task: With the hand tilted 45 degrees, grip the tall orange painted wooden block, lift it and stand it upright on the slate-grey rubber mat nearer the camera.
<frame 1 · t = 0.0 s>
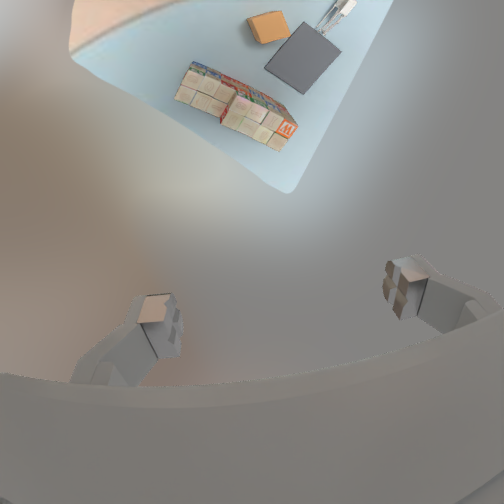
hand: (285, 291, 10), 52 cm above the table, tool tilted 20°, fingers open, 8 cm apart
orange block: (263, 25, 40), on the table
stack of blocks: (233, 93, 51), on the table
slate mat: (303, 58, 46), on the table
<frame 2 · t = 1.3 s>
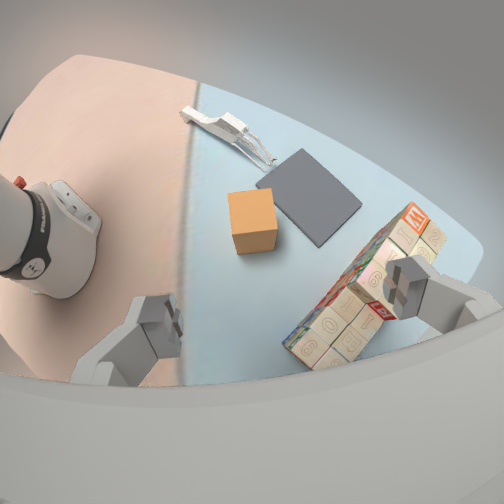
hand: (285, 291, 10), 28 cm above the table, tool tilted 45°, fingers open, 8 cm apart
orange block: (253, 235, 40), on the table
stack of blocks: (348, 300, 38), on the table
slate mat: (309, 195, 41), on the table
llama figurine: (225, 143, 45), on the table
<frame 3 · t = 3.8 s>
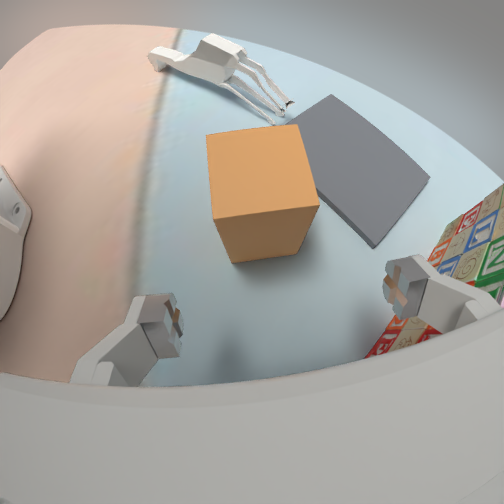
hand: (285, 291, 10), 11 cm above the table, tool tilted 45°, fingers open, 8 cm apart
orange block: (259, 227, 22), on the table
stack of blocks: (416, 336, 20), on the table
slate mat: (351, 161, 24), on the table
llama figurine: (212, 91, 27), on the table
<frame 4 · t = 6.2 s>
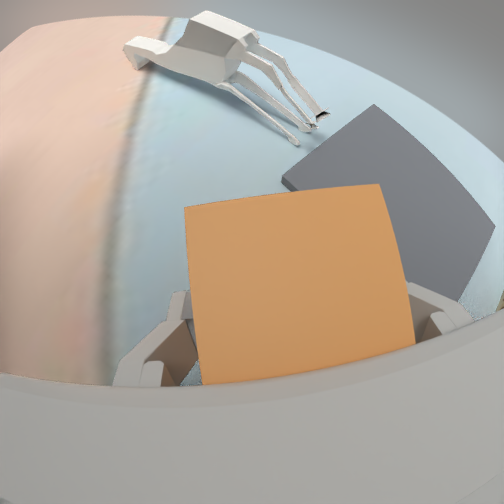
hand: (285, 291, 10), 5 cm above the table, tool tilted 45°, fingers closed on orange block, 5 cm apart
orange block: (279, 315, 15), on the table, touching gripper
slate mat: (405, 206, 16), on the table
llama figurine: (207, 93, 20), on the table
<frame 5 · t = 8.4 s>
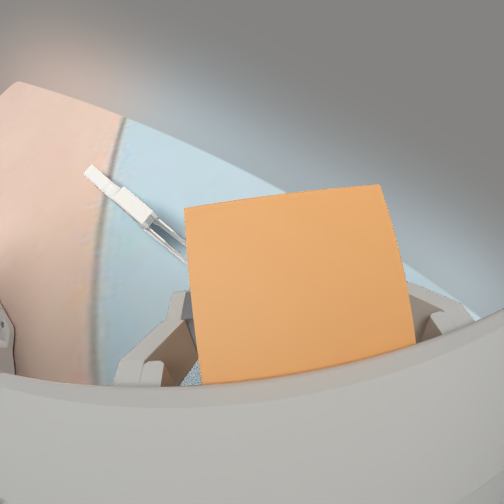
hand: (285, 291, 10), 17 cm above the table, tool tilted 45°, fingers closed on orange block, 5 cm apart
orange block: (280, 315, 15), point 12 cm above the table, touching gripper
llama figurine: (145, 220, 30), on the table
when the fingers open (7 cm above the table, at t = 11.0 s): orange block drops 1 cm, resting on slate mat.
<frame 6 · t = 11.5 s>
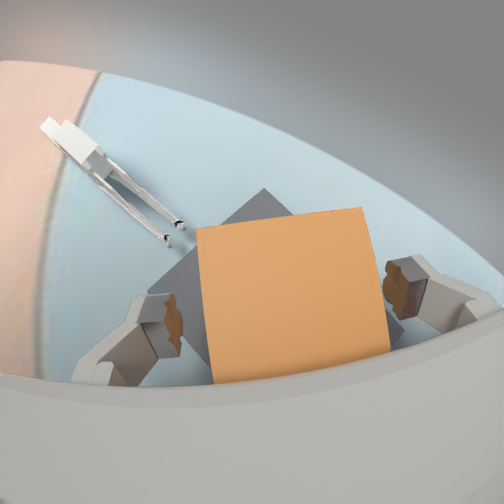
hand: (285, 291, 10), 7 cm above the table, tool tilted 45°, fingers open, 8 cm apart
orange block: (277, 316, 16), point 1 cm above the table, touching slate mat
slate mat: (277, 316, 17), on the table
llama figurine: (106, 180, 20), on the table
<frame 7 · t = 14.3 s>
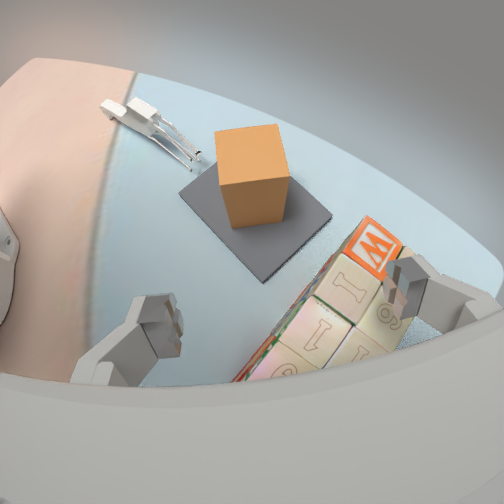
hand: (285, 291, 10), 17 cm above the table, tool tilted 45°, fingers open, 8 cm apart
orange block: (253, 202, 29), point 1 cm above the table, touching slate mat
stack of blocks: (285, 364, 26), on the table
slate mat: (254, 205, 30), on the table
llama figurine: (149, 138, 33), on the table
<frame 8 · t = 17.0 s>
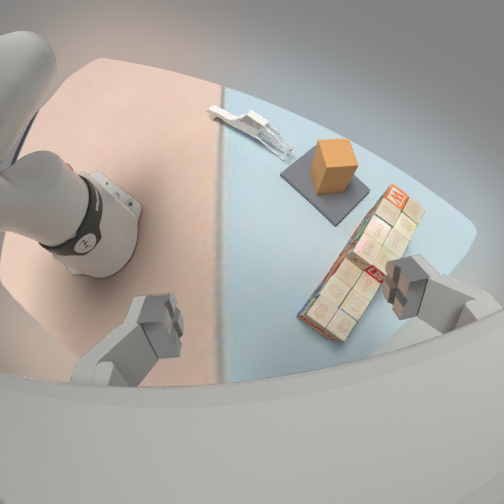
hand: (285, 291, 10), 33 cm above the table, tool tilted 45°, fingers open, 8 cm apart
orange block: (326, 181, 47), point 1 cm above the table, touching slate mat
stack of blocks: (348, 274, 44), on the table
slate mat: (325, 183, 48), on the table
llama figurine: (247, 137, 52), on the table
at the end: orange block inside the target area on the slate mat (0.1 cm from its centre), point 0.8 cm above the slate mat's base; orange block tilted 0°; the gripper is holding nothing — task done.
